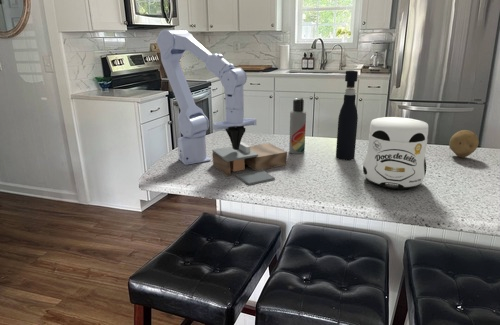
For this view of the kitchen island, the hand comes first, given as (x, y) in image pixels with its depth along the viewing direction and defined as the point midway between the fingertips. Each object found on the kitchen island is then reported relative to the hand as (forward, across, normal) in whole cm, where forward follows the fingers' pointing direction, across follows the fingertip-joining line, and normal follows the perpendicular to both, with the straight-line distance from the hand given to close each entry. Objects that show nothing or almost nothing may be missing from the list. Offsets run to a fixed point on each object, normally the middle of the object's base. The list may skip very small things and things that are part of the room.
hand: (235, 148), depth 121 cm
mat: (+6, +1, -12) cm, 13 cm away
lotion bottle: (+7, +27, +4) cm, 28 cm away
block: (+6, 0, -1) cm, 7 cm away
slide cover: (+2, 0, 0) cm, 2 cm away
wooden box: (+6, +5, 0) cm, 8 cm away
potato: (+7, +73, -30) cm, 79 cm away
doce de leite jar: (+7, +35, -34) cm, 49 cm away
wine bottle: (+7, +38, -10) cm, 40 cm away
